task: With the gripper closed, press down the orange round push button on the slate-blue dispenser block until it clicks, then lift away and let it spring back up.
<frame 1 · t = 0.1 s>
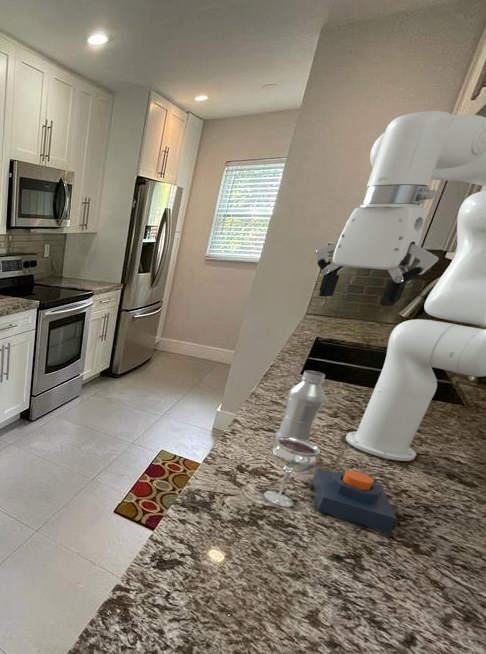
hand: (354, 300, 75), 37 cm above the countertop, tool pointing down, fingers open, 9 cm apart
nozzle button: (357, 480, 77), point 5 cm above the countertop, slide at 0.1 cm
wineglass: (278, 499, 80), on the countertop
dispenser: (347, 504, 79), on the countertop
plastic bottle: (286, 453, 97), on the countertop
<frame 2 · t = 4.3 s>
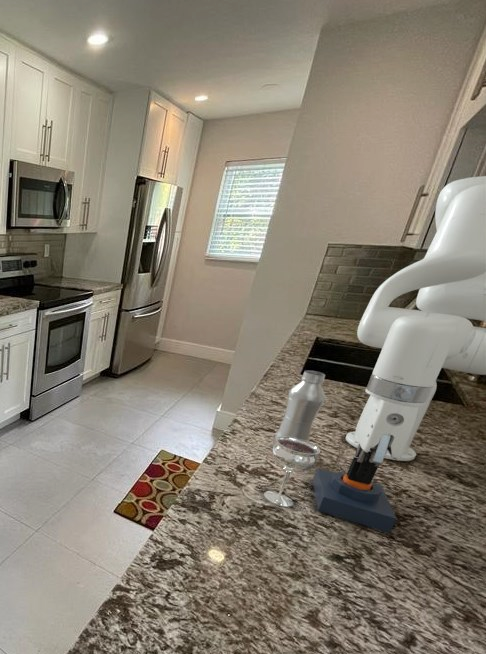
hand: (357, 479, 77), 6 cm above the countertop, tool pointing down, fingers closed
nozzle button: (356, 483, 77), point 5 cm above the countertop, slide at -0.6 cm, touching gripper
everything else where it was.
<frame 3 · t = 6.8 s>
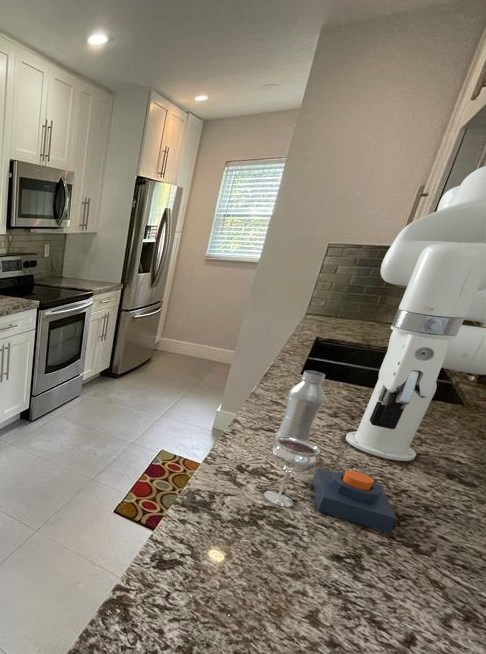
hand: (381, 425, 73), 17 cm above the countertop, tool pointing down, fingers closed
nozzle button: (357, 480, 77), point 5 cm above the countertop, slide at 0.1 cm
everything else where it was.
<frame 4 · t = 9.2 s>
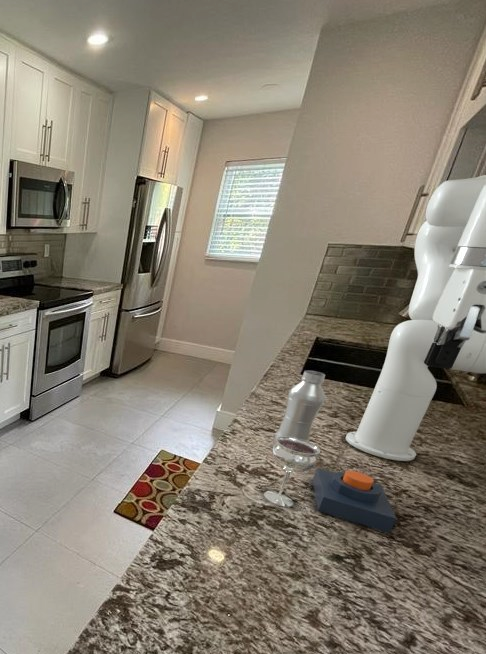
hand: (436, 366, 73), 27 cm above the countertop, tool pointing down, fingers closed
nothing on the countertop moved.
at the end: nozzle button pushed in 1.3 cm at the most during the clip, back to where it started at the end; nozzle button slide at 0.1 cm; wineglass moved 0.2 cm from its start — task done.
